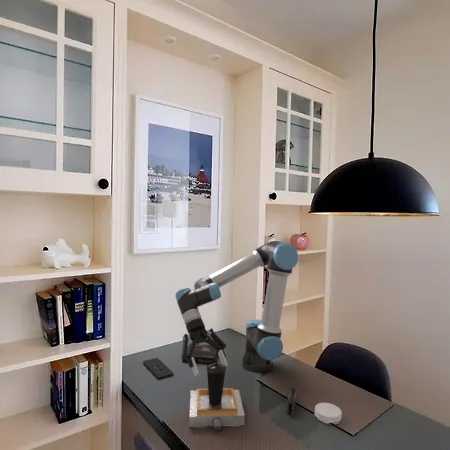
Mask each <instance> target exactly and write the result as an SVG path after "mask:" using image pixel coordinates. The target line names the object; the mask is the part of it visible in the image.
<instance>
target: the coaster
mask: <svg viewBox="0 0 450 450" xmlns="http://www.w3.org/2000/svg"><path fill="white" fill-rule="evenodd" d="M342 415H343V412H342V410H341V409H340V407H339V406H337V405H335V404H332V403H330V402H319V403H317V404H316V405H315V406H314V417H315V416H316V417H317V418H318V419H319V420H320V421H323V422H325V423H333V422H337V421H340V420H341V418H342ZM342 419H343V418H342Z"/></svg>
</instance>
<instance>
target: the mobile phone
mask: <svg viewBox="0 0 450 450" xmlns="http://www.w3.org/2000/svg"><path fill="white" fill-rule="evenodd" d="M296 395H297V392H296V388H294V387H289V392H288V396H287V402H286V403H287V404H286V405H287V407H286V408H287V409H286V410H287V413H288V414H289V415H290V417H291V418H292V419H293V418H294V412H295V409H296Z"/></svg>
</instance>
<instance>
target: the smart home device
mask: <svg viewBox="0 0 450 450" xmlns="http://www.w3.org/2000/svg"><path fill="white" fill-rule="evenodd" d="M142 363H143V365H144V367H145V368H146V369H147V370H148V371H149V372H150V373H151V374H152V375H153V376H154V378H155V379H157V380H163V379H167V378H170V377H174V372H173V371H172V370H171V369H170V368H169V367H168V366H167V365H166V364H165V363H164V362H163V361H162V360H161V359H160V358H159V357H155V358H150V359H146V360H143V361H142Z"/></svg>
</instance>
